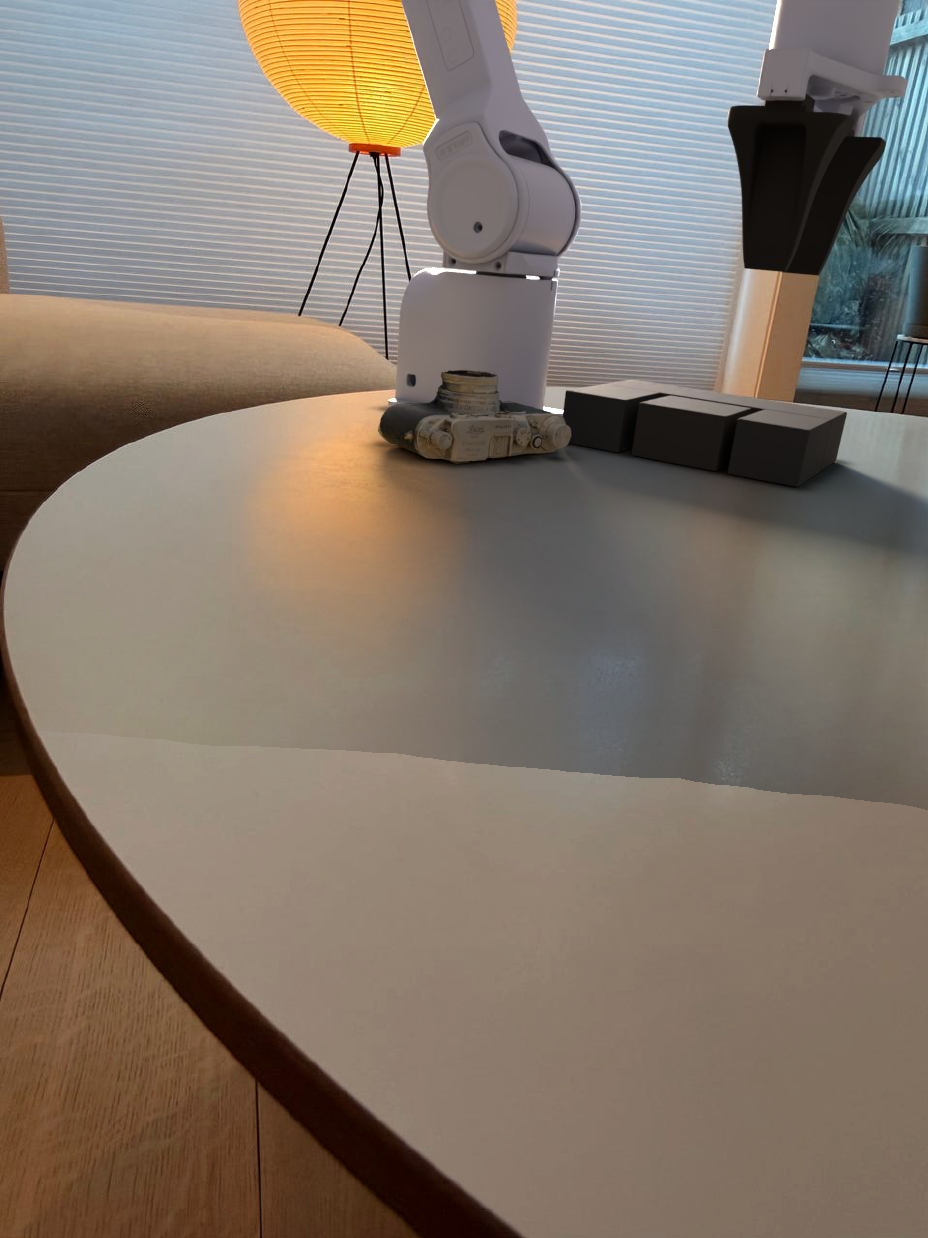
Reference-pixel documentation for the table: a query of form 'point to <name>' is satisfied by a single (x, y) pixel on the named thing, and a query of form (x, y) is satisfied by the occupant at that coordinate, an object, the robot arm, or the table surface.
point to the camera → (472, 422)
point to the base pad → (763, 442)
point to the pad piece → (687, 431)
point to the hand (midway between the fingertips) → (783, 272)
